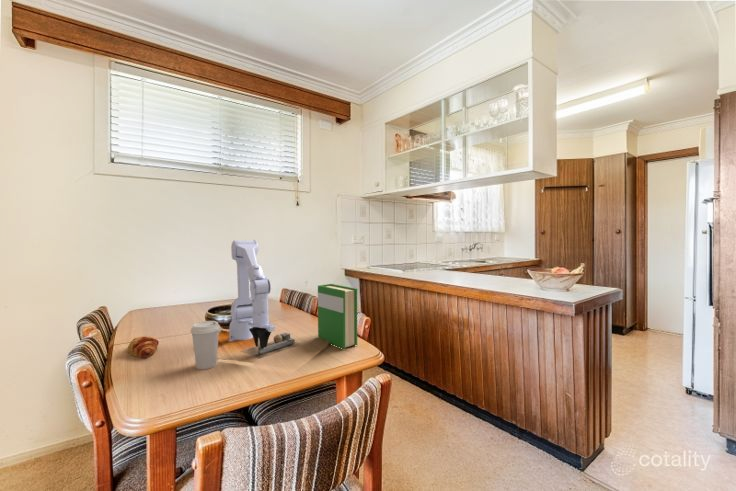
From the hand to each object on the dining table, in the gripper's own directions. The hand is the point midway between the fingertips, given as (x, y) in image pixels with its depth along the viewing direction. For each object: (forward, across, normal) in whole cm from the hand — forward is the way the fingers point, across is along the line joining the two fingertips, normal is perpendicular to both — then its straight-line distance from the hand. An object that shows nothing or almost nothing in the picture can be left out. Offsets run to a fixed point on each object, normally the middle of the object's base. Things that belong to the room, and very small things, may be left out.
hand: (261, 346), depth 124 cm
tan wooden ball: (+3, -5, +11) cm, 13 cm away
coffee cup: (+4, -8, -17) cm, 19 cm away
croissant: (+4, -42, -26) cm, 49 cm away
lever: (+3, 0, +7) cm, 7 cm away
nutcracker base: (+4, -3, +7) cm, 9 cm away
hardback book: (+4, +11, +30) cm, 32 cm away
